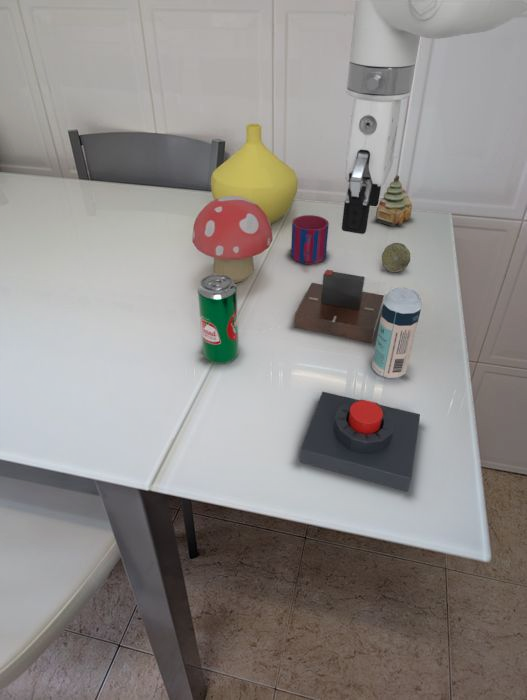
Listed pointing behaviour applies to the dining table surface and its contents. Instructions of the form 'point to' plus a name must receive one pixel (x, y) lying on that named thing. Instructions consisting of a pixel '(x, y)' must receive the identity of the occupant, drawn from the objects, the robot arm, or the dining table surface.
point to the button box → (362, 443)
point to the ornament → (394, 205)
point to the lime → (396, 257)
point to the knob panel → (339, 315)
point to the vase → (256, 177)
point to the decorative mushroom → (232, 235)
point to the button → (365, 417)
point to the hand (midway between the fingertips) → (360, 217)
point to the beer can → (396, 332)
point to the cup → (309, 239)
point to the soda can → (218, 318)
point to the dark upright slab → (342, 289)
